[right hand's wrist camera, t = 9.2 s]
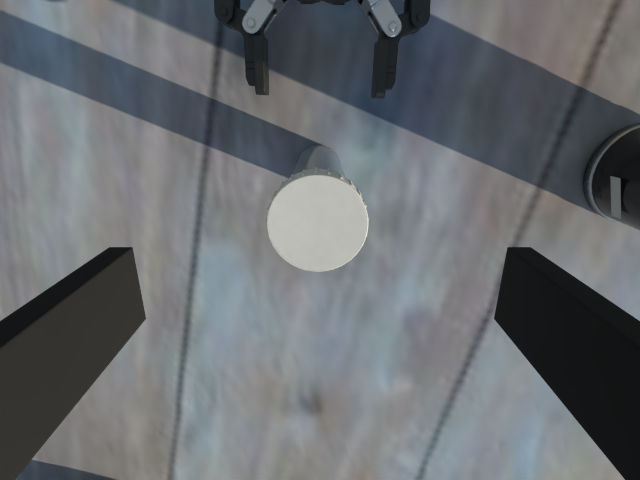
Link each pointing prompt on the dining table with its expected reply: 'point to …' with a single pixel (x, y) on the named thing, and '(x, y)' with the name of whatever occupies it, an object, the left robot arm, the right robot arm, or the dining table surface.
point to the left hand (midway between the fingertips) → (320, 96)
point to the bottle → (318, 160)
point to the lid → (317, 220)
